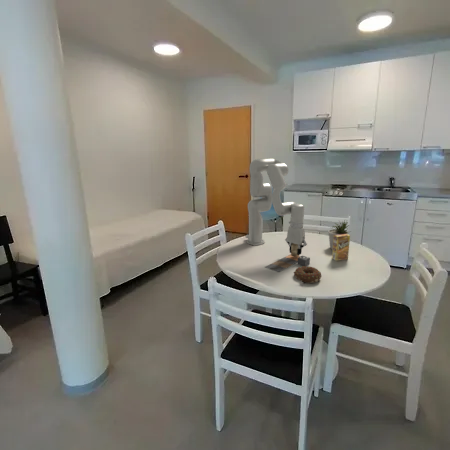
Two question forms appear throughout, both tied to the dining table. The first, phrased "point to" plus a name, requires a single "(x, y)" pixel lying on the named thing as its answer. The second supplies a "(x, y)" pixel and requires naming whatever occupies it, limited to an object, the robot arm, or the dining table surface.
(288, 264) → the board
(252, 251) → the dining table surface
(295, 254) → the pawn
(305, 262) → the die
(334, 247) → the candy box
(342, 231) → the potted plant
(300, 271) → the donut
